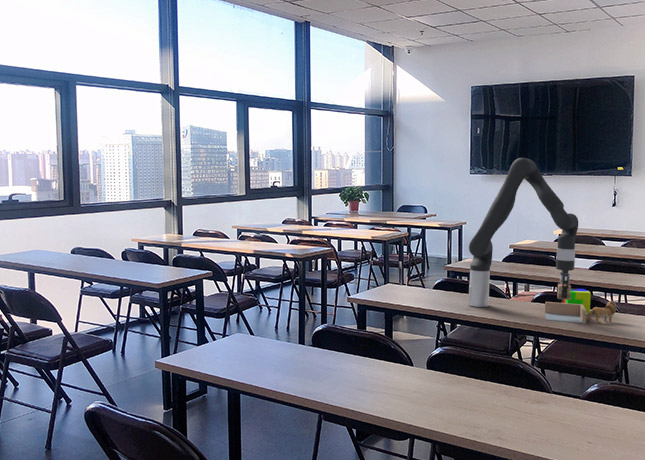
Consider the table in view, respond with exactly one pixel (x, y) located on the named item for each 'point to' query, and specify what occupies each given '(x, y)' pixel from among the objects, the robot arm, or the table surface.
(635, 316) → the table surface
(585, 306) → the puzzle toy
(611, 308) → the lion figurine
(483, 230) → the robot arm
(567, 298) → the block
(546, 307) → the arena
